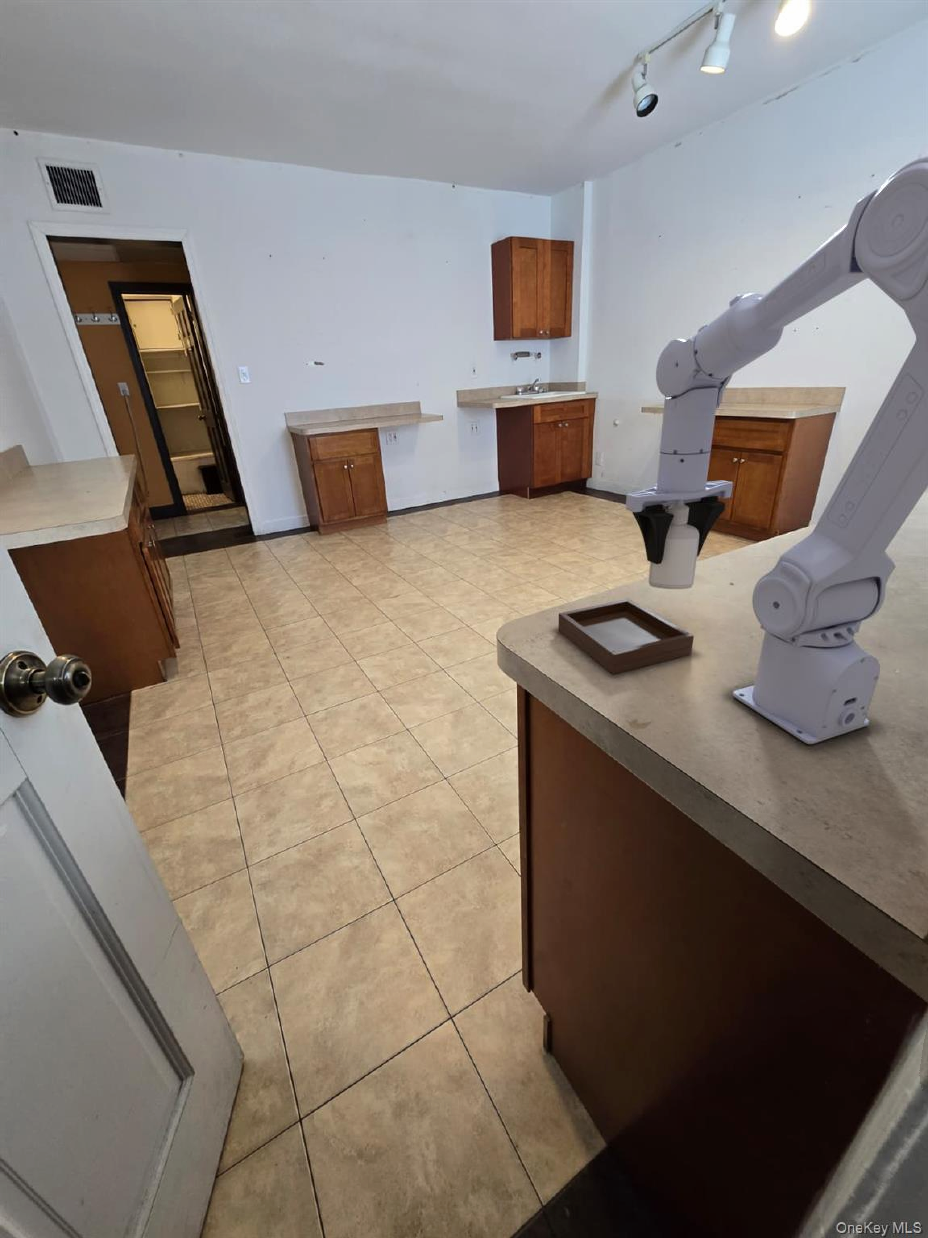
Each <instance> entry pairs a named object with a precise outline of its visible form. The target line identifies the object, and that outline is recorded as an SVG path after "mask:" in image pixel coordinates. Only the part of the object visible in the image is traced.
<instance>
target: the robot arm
mask: <svg viewBox="0 0 928 1238" xmlns="http://www.w3.org/2000/svg"><path fill="white" fill-rule="evenodd" d="M867 279H869V280H870V281H871V282H872V283H874V285H875V286H877V287H878V288H879V290H881V291H882V292H883V293H884V294H885V295H886V296H887V297H889V298H890V299H891V300H892V301H893V302H894V303H895V304H896V305H898V307H900V308H901V309H902V310H903V312H904V313H905V315H906V318H907V320H908V322H909V324H910V326H911V328H912V331H913V333H914V335H915V342H914V344H913V346H912V348H911V350H910V352H908V355H907V357H906V359H905V361H904V362H903V365H902V366H901V368H900V370H899V371H898V373H897V376H896V377H895V379H894V381H893V383H892V384H891V386H890V388H889V390H888V391H887V394H886V396H885V397H884V399H883V401H882V403H881V405H880V407H879V409H878V411H877V413H876V414H875V417H874V418H873V420H872V422H871V423H870V425H869V427H868V429H867V430H866V433H865V435H864V436H863V438H862V440H861V442H860V443H859V446H858V448H857V449H856V451H855V453H854V455H853V457H852V458H851V460H850V462H849V464H848V466H847V467H846V470H845V472H844V473H843V475H842V477H841V479H840V480H839V483H838V485H837V486H836V488H835V490H834V492H833V494H832V495H831V496H830V499H829V501H828V503H827V505H826V507H825V508H824V510H823V512H822V514H821V515H820V518H819V519H818V521H817V523H816V525H815V526H814V529H813V531H812V532H811V533H810V534H808V535H807V536H805V538H803V539H802V540H800V541H799V542H797V543H796V544H794V545H793V546H791V547H790V548H789V549H787V550H786V551H784V553H782V554H781V555H780V556H779V558H778V560H777V562H776V564H775V566H774V567H773V568H772V569H771V570H770V571H768V572H767V573H766V574H764V575H763V576H761V577H760V578H759V579H758V581H757V582H756V584H755V586H754V589H753V591H752V599H751V600H752V603H751V604H752V609H753V613H754V616H755V618H756V619H757V621H758V623H759V624H760V629H761V630H763V631H764V635H763V639H762V644H761V650H760V654H759V658H758V664H757V669H756V674H755V679H754V684H753V685H750V686H746V687H743V688H739V689H736V690H734V691H732V697H734V698H735V699H737V701H740V702H741V703H743V704H744V705H746V706H747V707H749V708H751V709H752V710H753V711H755V712H757V713H758V714H760V715H761V716H763V717H765V718H766V719H768V720H769V721H771V722H773V723H774V724H776V725H777V726H779V727H780V728H781V729H783V730H785V731H786V732H788V733H789V734H791V735H792V736H794V737H796V738H797V739H799V740H800V741H802V742H803V743H804V744H808V745H814V744H817V743H820V742H823V741H826V740H829V739H831V738H835V737H837V736H840V735H843V734H847V733H850V732H852V731H855V730H858V729H861V728H864V727H867V726H869V724H870V720H869V719H868V718H867V715H868V712H869V708H870V706H871V702H872V699H873V696H874V694H875V693H874V692H875V690H876V687H877V684H878V681H879V677H880V672H881V666H880V662H879V660H878V659H877V658H876V657H875V656H873V655H871V654H869V652H867V651H865V650H864V649H863V648H862V647H861V646H860V645H859V644H858V643H857V642H856V640H855V634H858V633H859V632H860V630H861V629H860V628H861V625H862V622H864V621H866V620H869V619H871V618H872V617H874V616H876V614H878V612H879V611H880V610H881V608H882V607H883V604H884V602H885V599H886V587H887V583H888V580H889V578H890V577H891V575H892V574H893V572H894V571H895V570H896V567H897V566H896V564H895V562H894V561H893V559H892V558H891V556H889V554H888V553H887V552H886V550H887V549H888V547H889V546H890V544H891V543H892V541H893V540H894V538H895V537H896V535H897V534H898V532H899V530H900V529H901V528H902V526H903V525H904V523H905V522H906V520H907V519H908V517H909V515H910V514H911V512H912V511H913V510H914V508H915V507H916V506H917V504H918V502H919V501H920V499H921V498H922V496H923V495H924V493H925V492H926V490H927V489H928V155H927V156H924V157H920V158H916V159H915V160H913V161H911V162H908V163H907V164H905V165H904V166H902V167H900V168H899V169H898V170H896V171H895V172H894V173H892V175H891V176H889V177H888V178H887V179H886V180H885V181H884V182H883V184H882V185H881V186H880V187H879V188H876V189H875V190H873V191H871V192H870V193H868V194H867V195H865V196H864V197H862V198H861V199H859V200H858V201H857V202H856V204H855V205H854V207H853V209H852V212H851V214H850V216H849V219H848V221H847V223H846V224H845V225H843V226H842V227H841V228H840V229H839V230H838V231H836V232H835V233H834V234H833V235H832V236H830V237H829V238H828V239H827V240H826V241H825V242H824V243H823V244H822V245H820V247H818V248H817V249H816V250H814V251H813V252H812V253H811V254H810V255H809V256H808V257H807V258H805V259H804V260H803V261H802V262H801V263H799V264H798V265H797V266H796V267H795V268H794V269H793V270H792V271H790V273H788V274H787V275H786V276H785V277H783V279H781V280H780V281H779V282H778V283H777V284H775V285H774V286H773V287H772V288H771V289H770V290H768V292H766V293H765V294H764V293H759V292H752V293H748V294H737V295H736V296H734V297H733V298H732V299H731V300H730V301H729V303H728V304H729V308H727V309H726V310H725V311H723V312H722V313H721V314H719V316H717V317H716V318H715V319H713V320H712V321H711V322H709V323H708V324H703V325H702V326H700V328H699V329H698V330H697V333H696V334H695V335H693V336H692V337H691V338H687V339H683V338H677V339H672V340H670V341H669V342H668V344H667V345H666V346H665V347H664V349H663V350H662V351H661V353H660V354H659V357H658V360H657V363H656V368H655V380H656V386H657V388H658V391H659V392H660V393H661V394H662V396H664V403H663V414H662V426H661V436H660V445H659V457H658V468H657V469H658V471H657V481H656V483H655V484H654V486H653V487H650V488H647V489H643V490H640V491H637V492H632V493H631V492H630V493H627V494H626V497H625V499H626V500H625V510H627V511H629V512H632V515H633V517H634V519H635V521H636V523H637V526H638V527H639V530H640V533H641V536H642V539H643V544H644V548H645V553H646V561H647V562H649V563H650V562H652V563H654V564H661V563H662V560H663V555H664V548H665V541H666V536H667V533H668V530H669V527H670V524H671V522H672V520H673V518H674V515H673V514H670V513H668V511H667V512H666V509H665V508H664V507H670V506H672V505H675V504H679V503H678V502H680V500H683V502H684V505H686V506H688V507H689V512H688V521H687V523H686V524H688V525H691V526H693V527H695V528H696V529H697V530H698V532H699V544H698V552H697V557H699V556H700V554H701V552H702V549H703V546H704V545H705V543H706V540H707V538H708V536H709V533H710V532H711V530H712V528H713V527H714V525H715V523H716V522H717V521H718V519H719V518H720V516H721V515H722V514H724V512H725V511H726V504H727V503H726V502H725V501H722V500H721V501H720V500H719V499H720V498H721V499H729V498H731V497H732V494H733V486H734V482H733V481H727V480H714V481H712V480H711V481H708V475H709V474H708V473H709V467H710V459H711V450H712V442H713V436H714V427H715V420H716V412H717V409H719V408H720V405H721V404H722V402H723V395H724V392H725V389H726V387H727V386H728V385H729V384H730V381H731V379H732V377H733V374H735V373H737V371H740V370H742V369H743V368H744V367H746V366H747V365H749V364H750V363H752V362H754V361H755V360H757V359H759V358H760V357H762V356H764V355H765V354H767V353H769V352H770V351H772V349H774V348H775V347H776V346H777V345H778V344H779V342H780V340H781V338H782V336H783V332H784V328H786V326H788V325H791V324H792V323H793V322H795V321H797V320H798V319H800V318H802V317H803V316H805V315H807V314H809V313H810V312H812V311H814V310H815V309H817V308H819V307H820V306H822V305H824V304H826V303H828V302H829V301H831V300H832V299H835V298H836V297H838V296H839V295H841V294H843V293H844V292H846V291H847V290H850V289H851V288H853V287H855V286H856V285H858V284H860V283H861V282H863V281H865V280H867Z"/></svg>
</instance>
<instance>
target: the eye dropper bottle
mask: <svg viewBox="0 0 928 1238" xmlns="http://www.w3.org/2000/svg"><path fill="white" fill-rule="evenodd" d="M678 503H679V504H675V505H669V506H668V510H667V513H670V514H673V515H674V518H673V520H672V522H671V524H670V527H669V530H668V533H667V536H666V541H665V548H664V555H663V560H662V563H661V564H654V563H652V562H650V561H649V569H648V570H649V571H648V584H649V586H651V587H653V588H657V589H663V590H685V589H686V590H687V589H691V588H693V586H694V581H695V575H696V567H697V566H696V565H697V561H698V560H697V559H698V558H697V552H698V544H699V532H698V530H697V529H696V528H695V527H693V526H691V525H688V524H686V523H687V521H688V512H689V507H688V506H686V505H684V502H683V500H680V502H678Z"/></svg>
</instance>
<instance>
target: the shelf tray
mask: <svg viewBox="0 0 928 1238" xmlns="http://www.w3.org/2000/svg"><path fill="white" fill-rule="evenodd" d="M558 631H559V632H560V633H561V634H563V635H564V636H565V637H566V638H567V639H569V640H570V641H571V642H572V643H573V644H575V645H576V646H577V647H578V648H580V650H582V651H583V652H584V653H586V654H587V655H588V656H589V657H590V658H592V659H593V660H594V661H596V662H597V663H598V664H599V665H601V667H603V668H604V669H605V670H607V672H609V673H610V674H612V675H616V674H620V673H624V672H627V671H631V670H635V669H641V668H643V667H648V666H650V665H655V664H659V663H663V662H666V661H667V662H668V661H670V660H674V659H678V658H683V657H686V656H690V655H692V652H693V646H694V637H695V636H694V634H692V633H690V632H688V631H686V630H685V629H683V628H681V627H679V626H677V625H676V624H674V623H672V622H671V621H668V620H667V619H665V618H663V617H661V616H660V615H659V614H656V613H655V612H653V611H651V610H649V609H647V608H646V607H645V606H642V605H641V604H639V603H637V602H635V601H634V600H632V599H630V598H625V599H620V600H614V601H611V602H606V603H603V604H602V603H601V604H597V605H592V606H587V607H582V608H578V609H577V608H576V609H573V610H569V611H563V612H559V613H558Z"/></svg>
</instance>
